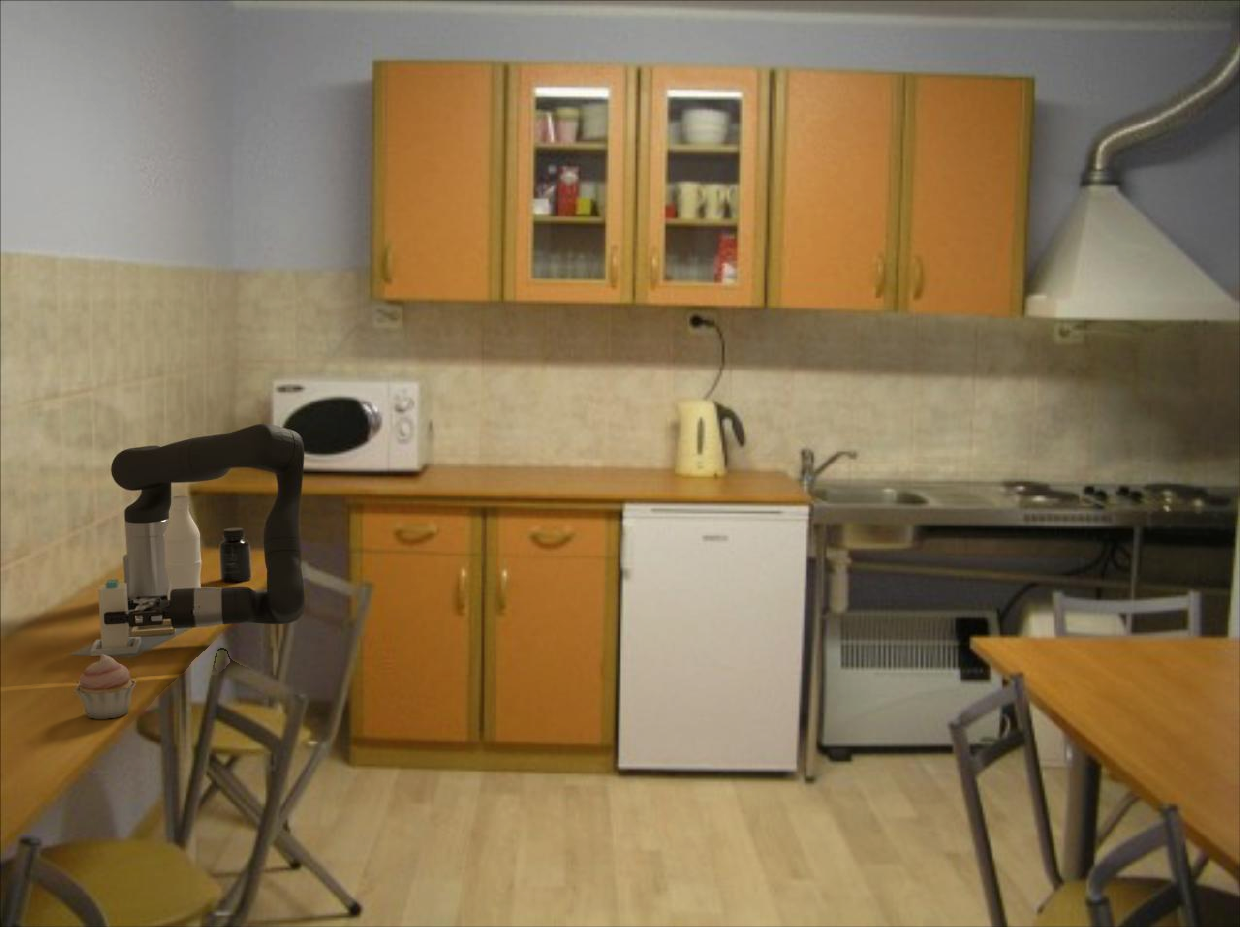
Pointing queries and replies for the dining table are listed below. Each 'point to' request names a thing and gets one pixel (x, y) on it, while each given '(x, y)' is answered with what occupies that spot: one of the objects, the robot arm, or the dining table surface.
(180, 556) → the water bottle
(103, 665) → the cupcake
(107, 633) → the white tall box
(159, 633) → the panel
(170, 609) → the robot arm
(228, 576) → the supplement bottle
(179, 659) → the dining table surface
